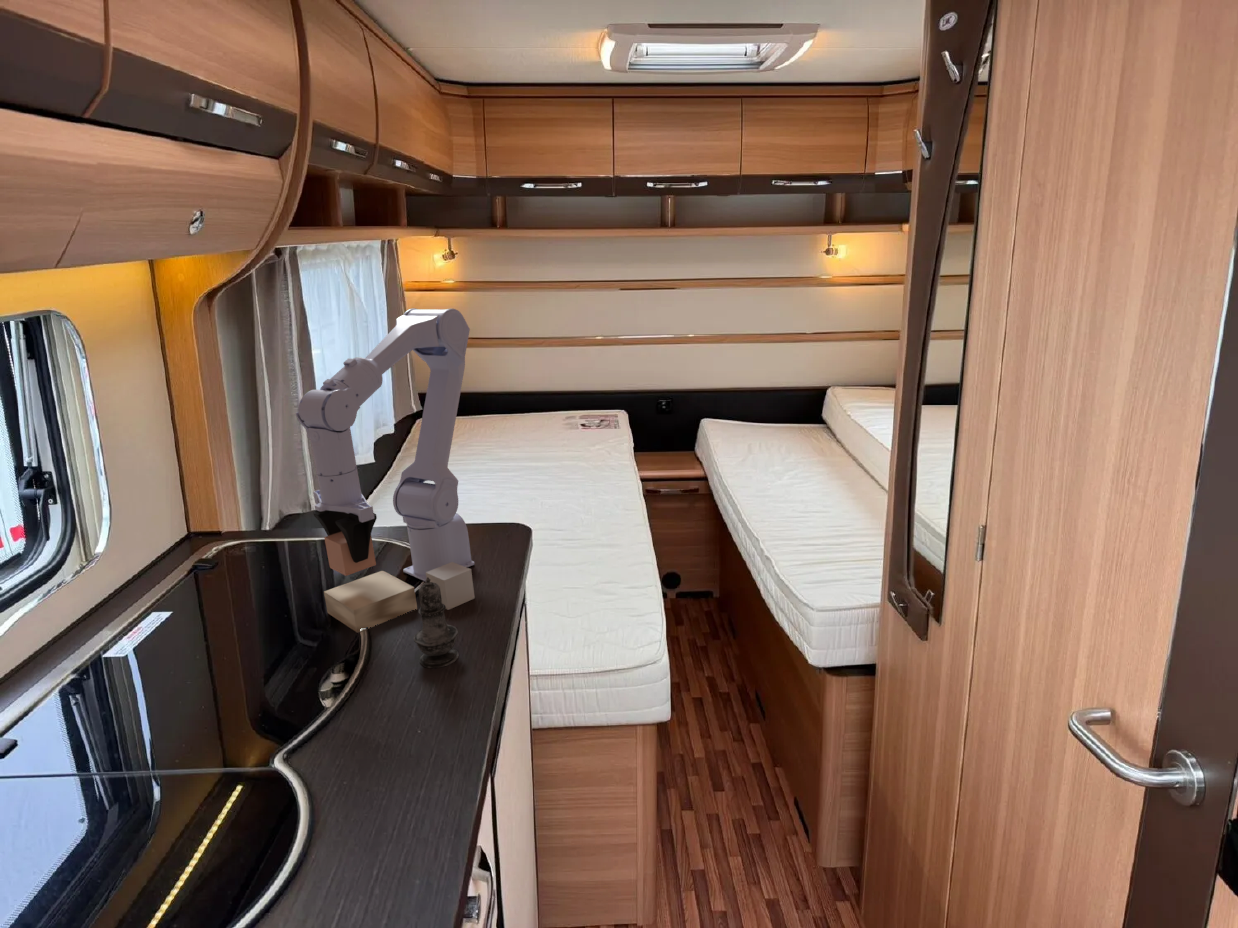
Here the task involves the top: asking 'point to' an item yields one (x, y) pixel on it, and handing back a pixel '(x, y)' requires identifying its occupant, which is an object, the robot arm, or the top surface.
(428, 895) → the top surface
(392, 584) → the birch block
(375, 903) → the top surface
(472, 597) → the grey cube
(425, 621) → the dark tall tiered piece
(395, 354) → the robot arm
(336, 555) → the terracotta cube
